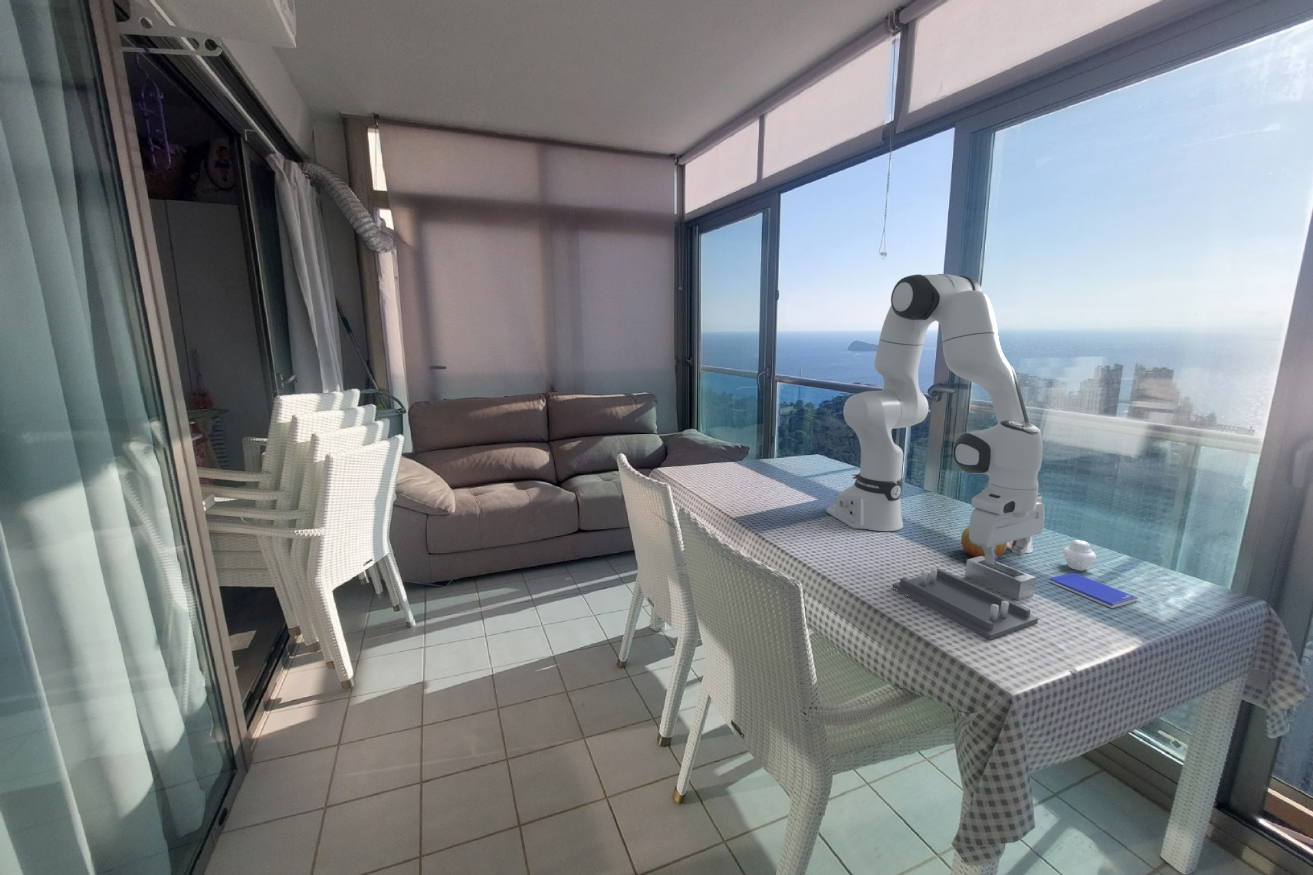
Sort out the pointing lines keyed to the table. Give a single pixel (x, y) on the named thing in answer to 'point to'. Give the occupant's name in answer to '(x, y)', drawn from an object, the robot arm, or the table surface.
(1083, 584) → the hard drive
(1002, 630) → the tray
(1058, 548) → the table surface
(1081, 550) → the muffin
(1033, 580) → the block
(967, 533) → the apple
